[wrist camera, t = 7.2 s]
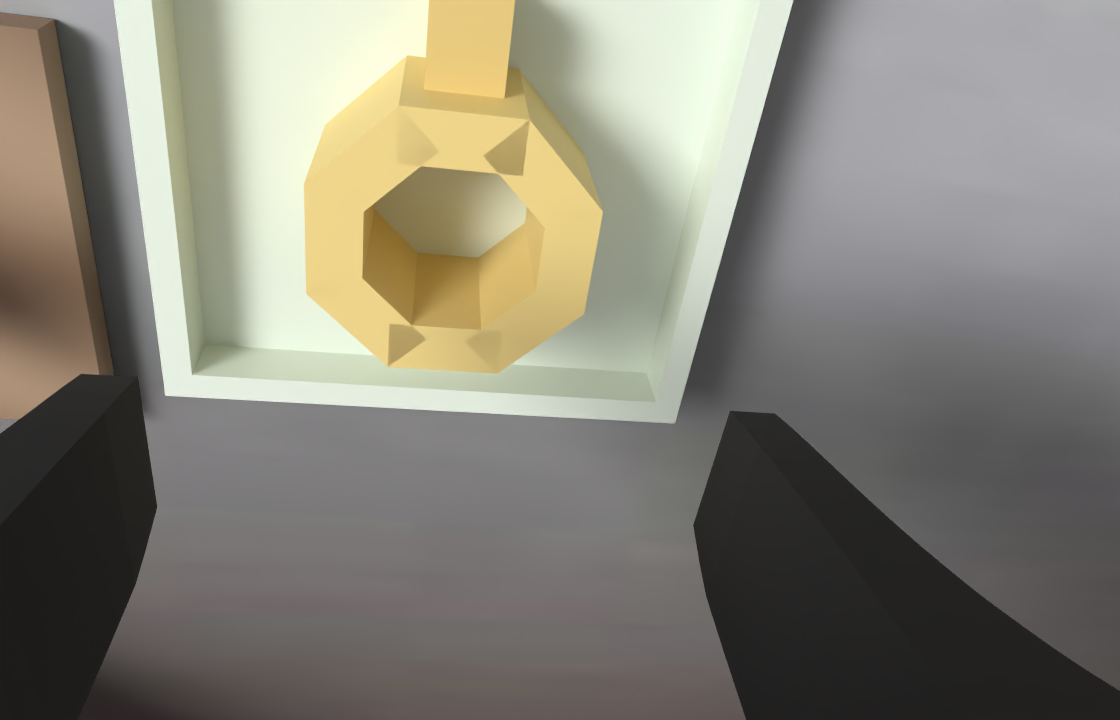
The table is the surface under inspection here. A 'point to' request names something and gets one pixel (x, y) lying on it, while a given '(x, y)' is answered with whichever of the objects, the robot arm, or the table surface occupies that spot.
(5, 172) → the tan square peg base
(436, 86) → the ring
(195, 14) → the tray
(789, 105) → the table surface
